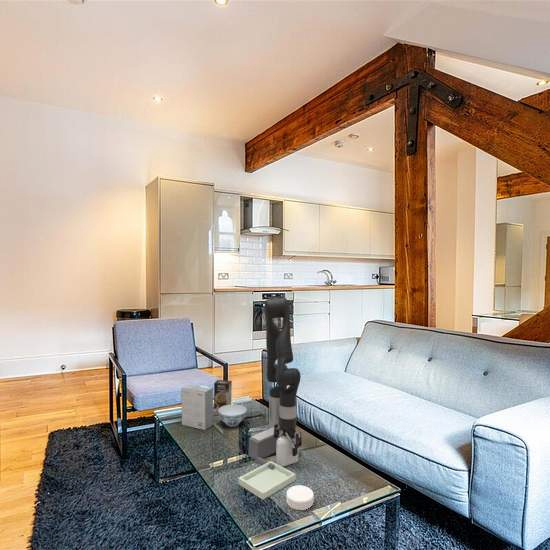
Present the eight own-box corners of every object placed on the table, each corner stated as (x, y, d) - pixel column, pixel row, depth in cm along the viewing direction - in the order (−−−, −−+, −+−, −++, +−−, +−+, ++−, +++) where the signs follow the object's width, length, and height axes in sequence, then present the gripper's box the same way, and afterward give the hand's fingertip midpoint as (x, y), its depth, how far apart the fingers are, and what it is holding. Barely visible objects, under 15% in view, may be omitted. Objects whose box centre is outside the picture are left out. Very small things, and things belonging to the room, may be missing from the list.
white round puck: (317, 509, 134) (317, 499, 134) (290, 512, 132) (290, 503, 132) (309, 492, 144) (309, 483, 144) (283, 495, 142) (283, 486, 142)
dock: (275, 443, 182) (275, 425, 182) (301, 455, 171) (301, 436, 170) (246, 457, 169) (246, 438, 168) (272, 471, 158) (272, 450, 157)
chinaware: (250, 419, 208) (250, 406, 208) (241, 431, 194) (241, 416, 193) (224, 416, 212) (224, 403, 212) (213, 428, 197) (213, 413, 197)
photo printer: (293, 457, 169) (294, 430, 168) (299, 462, 165) (300, 433, 165) (274, 464, 163) (274, 435, 163) (280, 468, 160) (280, 439, 159)
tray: (270, 466, 161) (270, 460, 161) (295, 480, 152) (295, 474, 151) (238, 483, 148) (238, 477, 148) (263, 500, 139) (263, 493, 139)
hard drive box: (213, 424, 201) (213, 387, 201) (205, 430, 194) (205, 392, 194) (189, 419, 208) (189, 383, 207) (180, 424, 201) (180, 387, 200)
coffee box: (213, 410, 221) (213, 382, 220) (216, 406, 227) (217, 379, 227) (228, 411, 219) (228, 383, 219) (231, 407, 226) (231, 380, 225)
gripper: (306, 417, 161) (305, 455, 162) (281, 408, 171) (281, 443, 172) (294, 422, 156) (293, 461, 156) (269, 412, 166) (269, 449, 166)
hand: (287, 452), depth 164 cm, fingers open, 8 cm apart
